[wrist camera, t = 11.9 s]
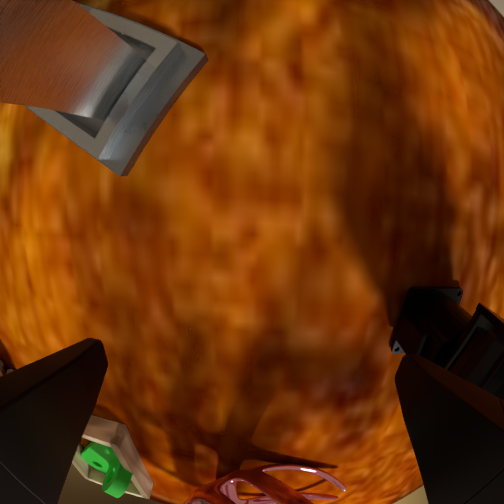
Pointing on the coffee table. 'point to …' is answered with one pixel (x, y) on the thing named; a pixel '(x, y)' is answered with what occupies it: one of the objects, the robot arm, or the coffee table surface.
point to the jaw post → (62, 58)
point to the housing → (132, 95)
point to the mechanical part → (108, 468)
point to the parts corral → (124, 450)
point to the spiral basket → (260, 487)
